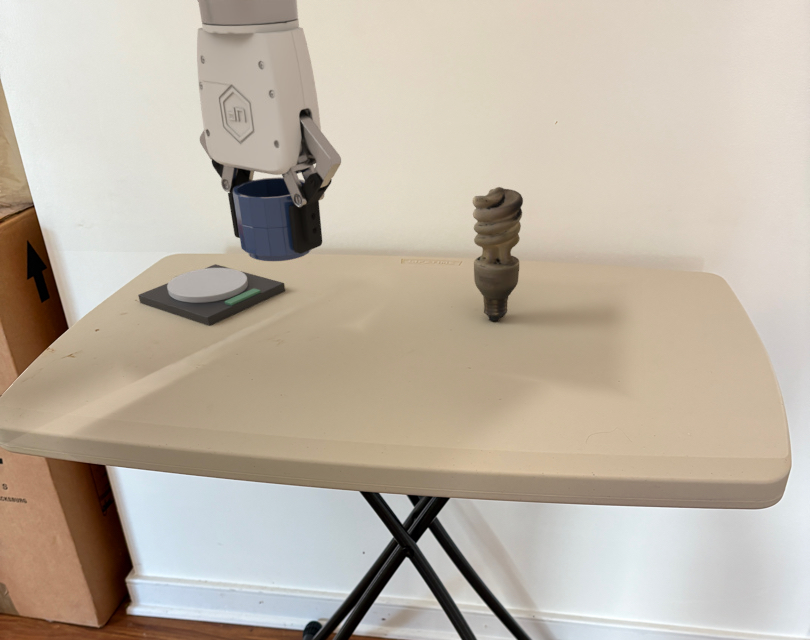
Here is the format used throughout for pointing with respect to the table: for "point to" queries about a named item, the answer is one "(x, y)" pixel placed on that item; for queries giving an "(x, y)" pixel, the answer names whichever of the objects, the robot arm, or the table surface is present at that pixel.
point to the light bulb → (497, 248)
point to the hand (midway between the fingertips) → (278, 240)
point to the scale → (211, 294)
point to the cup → (265, 219)
